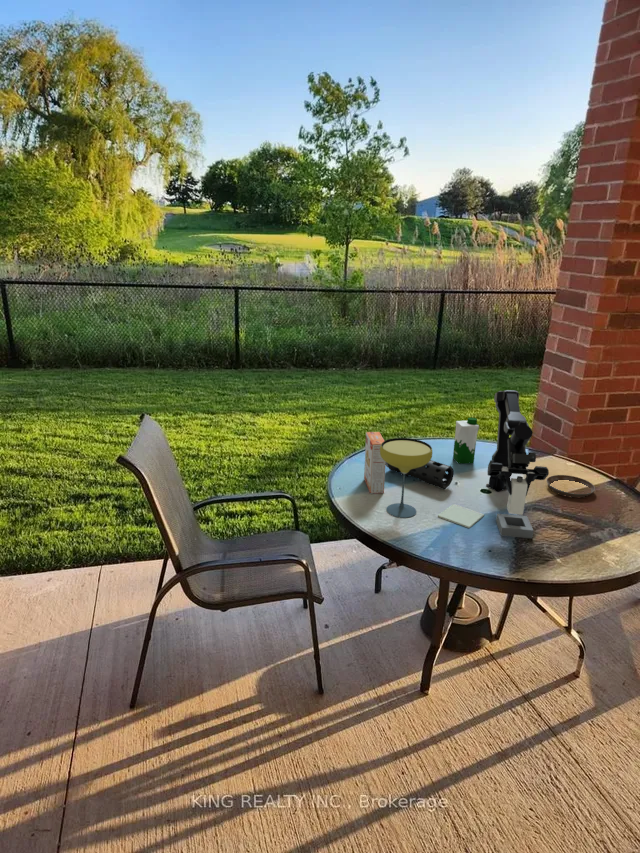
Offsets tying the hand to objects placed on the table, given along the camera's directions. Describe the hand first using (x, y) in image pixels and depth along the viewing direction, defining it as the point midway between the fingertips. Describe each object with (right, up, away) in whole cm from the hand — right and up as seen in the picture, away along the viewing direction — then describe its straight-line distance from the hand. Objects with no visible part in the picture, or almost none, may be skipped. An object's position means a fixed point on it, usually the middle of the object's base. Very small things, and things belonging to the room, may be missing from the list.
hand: (518, 495), depth 172 cm
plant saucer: (+34, -3, +37) cm, 50 cm away
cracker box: (-44, -1, +36) cm, 57 cm away
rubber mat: (-15, -9, +14) cm, 23 cm away
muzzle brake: (-26, 0, +43) cm, 50 cm away
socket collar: (0, -12, +5) cm, 14 cm away
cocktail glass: (-36, -8, +17) cm, 41 cm away
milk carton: (-1, +7, +64) cm, 64 cm away
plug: (0, -6, +3) cm, 7 cm away
